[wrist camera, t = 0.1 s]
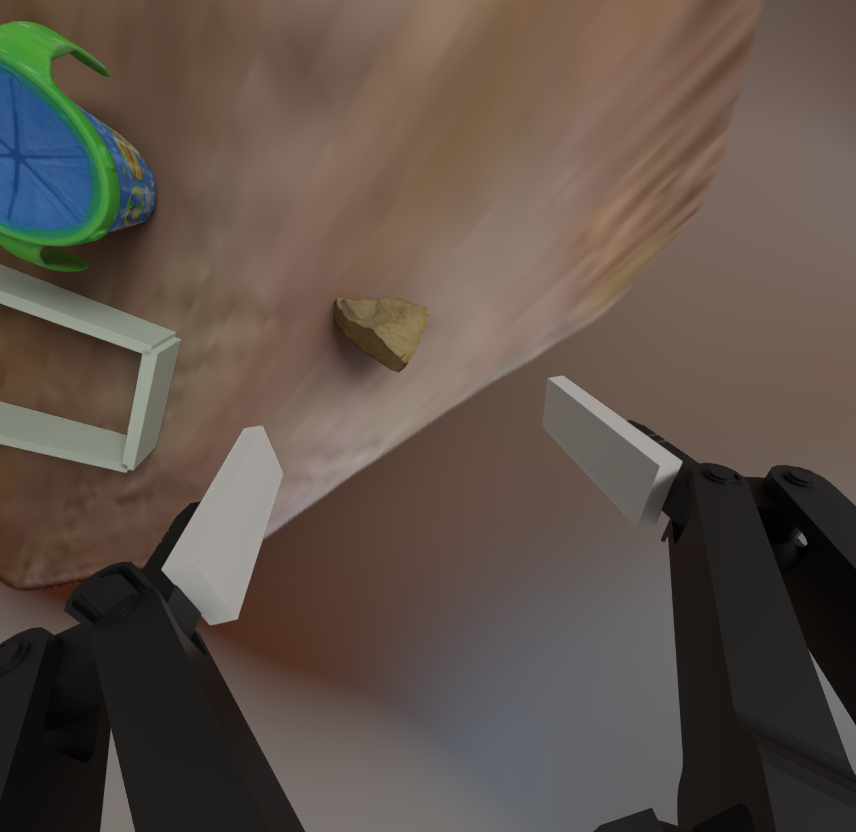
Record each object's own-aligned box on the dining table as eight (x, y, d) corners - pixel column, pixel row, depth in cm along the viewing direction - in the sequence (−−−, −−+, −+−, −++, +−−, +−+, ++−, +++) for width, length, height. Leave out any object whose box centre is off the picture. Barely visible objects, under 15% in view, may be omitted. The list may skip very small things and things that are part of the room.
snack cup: (53, 23, 24) (-118, -93, 15) (205, 135, 29) (137, 93, 20) (18, 218, 29) (-127, 212, 20) (152, 287, 33) (80, 307, 25)
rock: (309, 333, 36) (378, 385, 40) (321, 303, 29) (405, 371, 32) (360, 270, 40) (420, 323, 43) (383, 229, 32) (453, 297, 36)
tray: (-21, 404, 36) (-72, 427, 32) (-25, 254, 30) (-89, 258, 25) (155, 449, 42) (132, 474, 38) (182, 334, 36) (158, 348, 32)
